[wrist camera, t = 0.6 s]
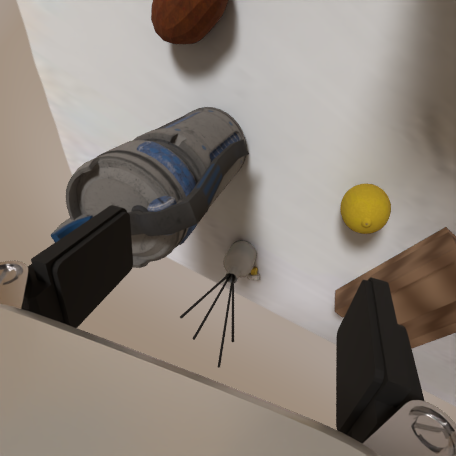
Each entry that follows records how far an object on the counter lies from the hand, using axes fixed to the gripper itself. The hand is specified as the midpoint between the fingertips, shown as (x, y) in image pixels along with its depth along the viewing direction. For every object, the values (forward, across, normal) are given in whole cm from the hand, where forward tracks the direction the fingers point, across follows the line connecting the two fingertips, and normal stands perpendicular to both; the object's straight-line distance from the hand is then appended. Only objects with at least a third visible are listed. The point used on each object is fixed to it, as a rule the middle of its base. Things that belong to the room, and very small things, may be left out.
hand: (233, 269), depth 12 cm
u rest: (+31, -21, +20) cm, 43 cm away
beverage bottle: (+31, +11, +5) cm, 33 cm away
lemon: (+31, -10, +8) cm, 34 cm away
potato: (+31, +15, -10) cm, 36 cm away
